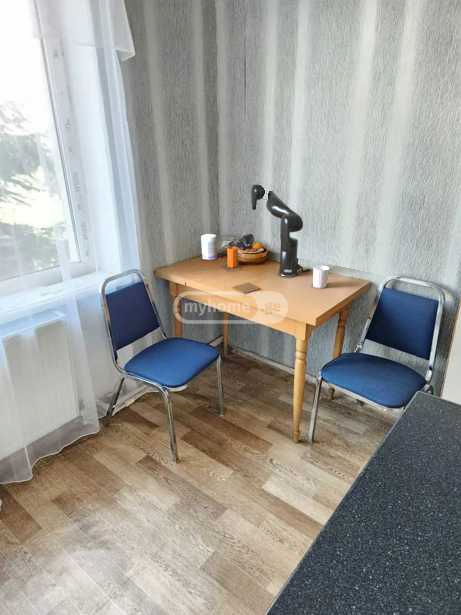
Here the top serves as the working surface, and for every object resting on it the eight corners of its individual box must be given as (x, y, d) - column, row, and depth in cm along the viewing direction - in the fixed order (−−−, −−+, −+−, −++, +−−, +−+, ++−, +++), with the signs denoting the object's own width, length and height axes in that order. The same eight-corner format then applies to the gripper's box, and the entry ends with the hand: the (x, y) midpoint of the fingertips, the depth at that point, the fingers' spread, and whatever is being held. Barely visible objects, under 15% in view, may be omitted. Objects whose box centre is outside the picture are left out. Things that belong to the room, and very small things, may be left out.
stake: (236, 264, 238) (236, 249, 234) (242, 268, 230) (242, 253, 227) (222, 266, 235) (222, 251, 231) (228, 270, 227) (228, 255, 223)
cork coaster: (248, 283, 209) (248, 282, 209) (260, 289, 201) (260, 288, 201) (233, 287, 204) (233, 286, 204) (244, 293, 196) (244, 292, 196)
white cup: (309, 284, 207) (310, 266, 203) (322, 282, 210) (323, 264, 206) (317, 289, 200) (318, 271, 196) (330, 287, 203) (332, 269, 199)
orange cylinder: (234, 263, 235) (234, 246, 231) (238, 266, 231) (239, 248, 226) (226, 265, 233) (226, 247, 229) (230, 268, 229) (230, 249, 224)
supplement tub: (219, 256, 252) (218, 234, 245) (214, 261, 243) (214, 238, 237) (204, 255, 254) (203, 233, 248) (199, 260, 246) (199, 237, 239)
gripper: (235, 234, 248) (225, 241, 234) (256, 236, 243) (247, 243, 230) (235, 246, 251) (225, 253, 238) (256, 248, 246) (247, 255, 233)
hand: (236, 248), depth 234 cm, fingers open, 8 cm apart
